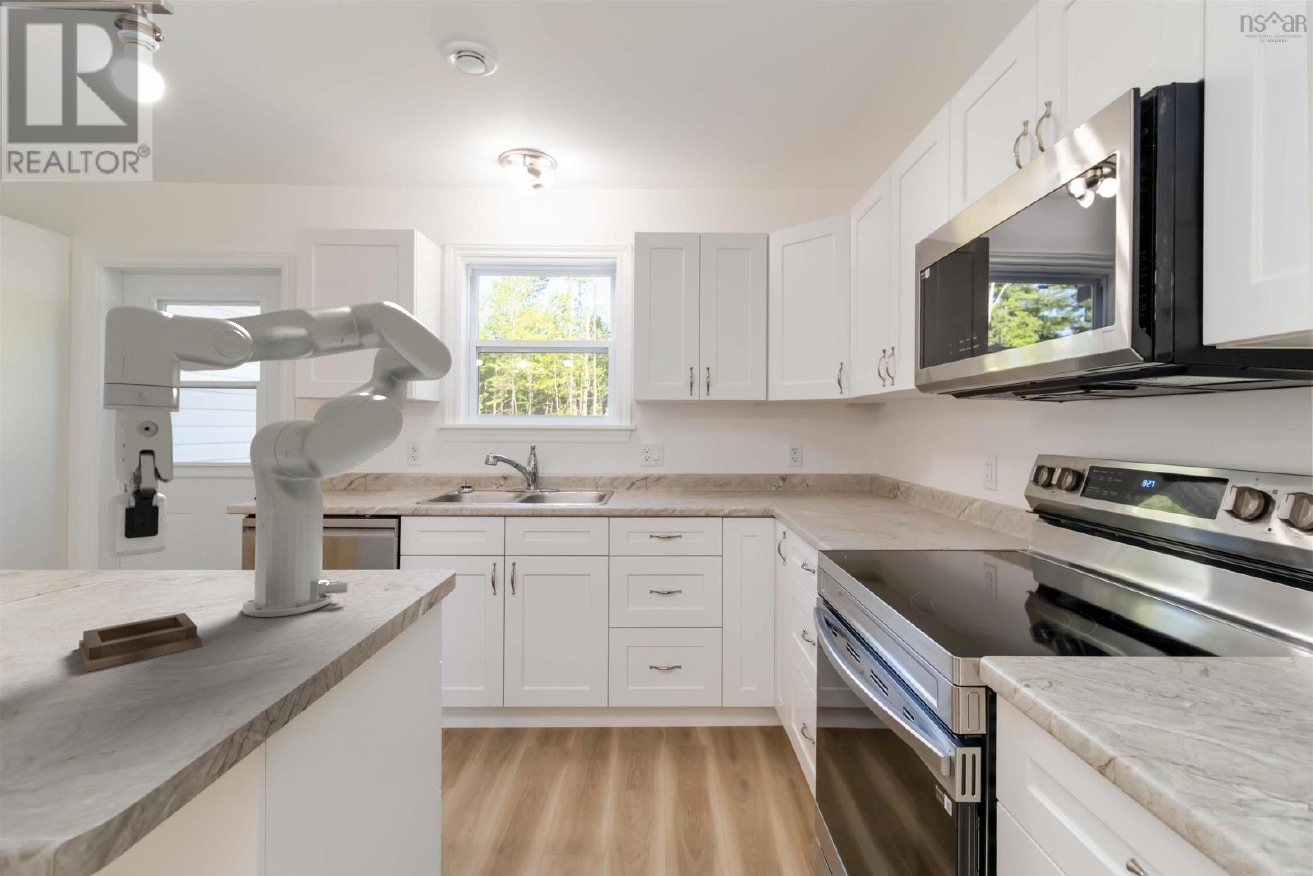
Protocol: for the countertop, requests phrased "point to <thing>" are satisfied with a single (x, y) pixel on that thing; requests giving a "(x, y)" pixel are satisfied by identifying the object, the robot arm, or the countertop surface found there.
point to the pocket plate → (137, 641)
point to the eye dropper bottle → (133, 546)
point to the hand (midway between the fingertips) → (139, 533)
